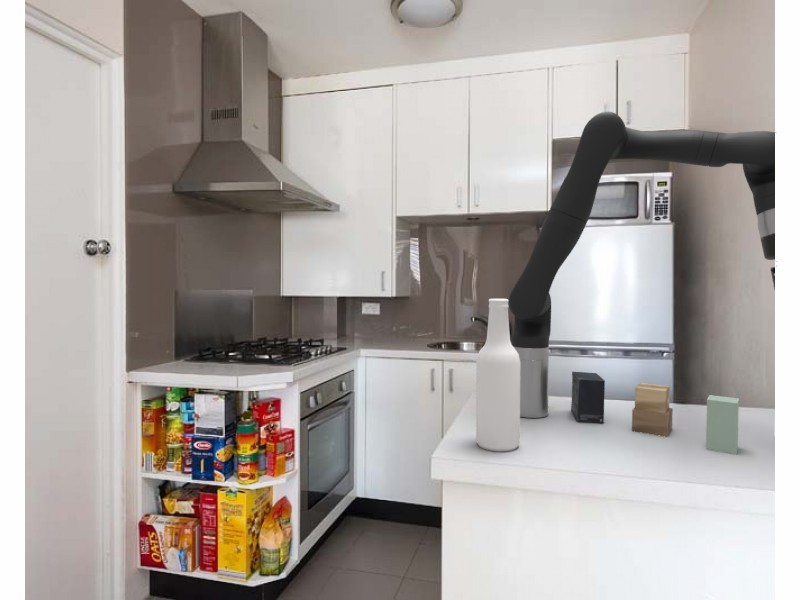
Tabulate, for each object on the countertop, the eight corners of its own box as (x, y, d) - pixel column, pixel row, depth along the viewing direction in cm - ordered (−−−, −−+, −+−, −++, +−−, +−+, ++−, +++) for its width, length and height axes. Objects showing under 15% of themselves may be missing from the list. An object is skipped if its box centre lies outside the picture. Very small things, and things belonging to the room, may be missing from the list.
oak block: (664, 413, 105) (665, 390, 105) (634, 409, 109) (635, 387, 108) (669, 408, 110) (669, 386, 110) (640, 404, 113) (640, 382, 113)
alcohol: (473, 450, 96) (474, 299, 95) (478, 436, 104) (479, 298, 103) (519, 454, 94) (520, 299, 93) (520, 440, 102) (521, 298, 101)
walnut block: (667, 437, 104) (667, 414, 104) (631, 431, 109) (632, 409, 108) (672, 429, 110) (672, 408, 110) (638, 424, 114) (638, 403, 114)
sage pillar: (736, 454, 94) (737, 403, 93) (706, 449, 97) (707, 399, 96) (737, 447, 98) (738, 398, 97) (708, 442, 101) (709, 394, 100)
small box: (605, 424, 114) (606, 379, 114) (576, 422, 115) (577, 378, 115) (596, 412, 124) (597, 371, 124) (570, 411, 126) (570, 371, 125)
